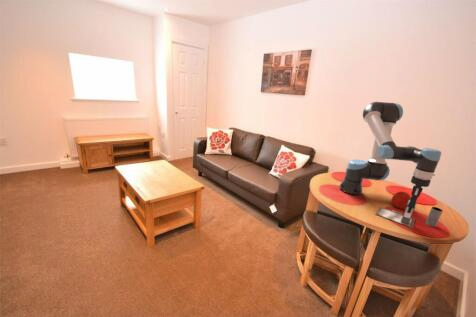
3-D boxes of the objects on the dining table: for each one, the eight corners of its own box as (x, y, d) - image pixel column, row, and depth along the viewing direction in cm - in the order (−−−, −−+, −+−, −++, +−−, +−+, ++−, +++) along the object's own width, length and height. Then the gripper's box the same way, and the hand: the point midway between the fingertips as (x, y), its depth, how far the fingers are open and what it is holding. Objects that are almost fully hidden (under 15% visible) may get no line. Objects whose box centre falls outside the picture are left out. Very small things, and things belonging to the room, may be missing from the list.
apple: (399, 202, 143) (403, 188, 140) (413, 210, 133) (418, 196, 130) (386, 202, 141) (391, 188, 138) (399, 211, 131) (405, 196, 128)
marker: (400, 222, 118) (408, 201, 114) (401, 219, 121) (409, 199, 116) (408, 225, 116) (416, 203, 112) (409, 222, 118) (417, 201, 114)
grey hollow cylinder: (423, 222, 121) (429, 206, 118) (430, 222, 121) (436, 206, 118) (430, 226, 117) (437, 211, 114) (438, 227, 117) (445, 211, 114)
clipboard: (375, 214, 125) (375, 212, 125) (379, 207, 134) (380, 205, 134) (412, 228, 113) (413, 227, 113) (414, 219, 123) (415, 218, 122)
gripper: (430, 184, 101) (414, 224, 108) (431, 175, 113) (417, 212, 121) (411, 179, 106) (396, 218, 113) (414, 171, 118) (401, 207, 125)
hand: (407, 215), depth 117 cm, fingers open, 4 cm apart
